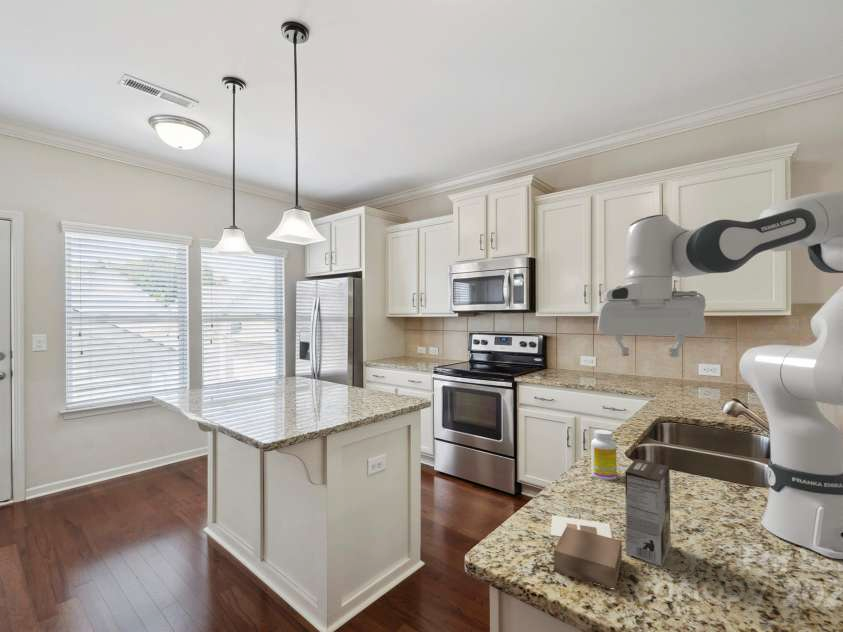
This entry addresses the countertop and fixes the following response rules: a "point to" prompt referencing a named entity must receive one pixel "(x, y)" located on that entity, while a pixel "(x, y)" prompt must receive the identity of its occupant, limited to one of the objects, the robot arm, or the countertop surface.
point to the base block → (588, 557)
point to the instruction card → (578, 526)
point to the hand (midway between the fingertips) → (648, 356)
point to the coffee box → (648, 511)
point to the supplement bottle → (603, 455)
